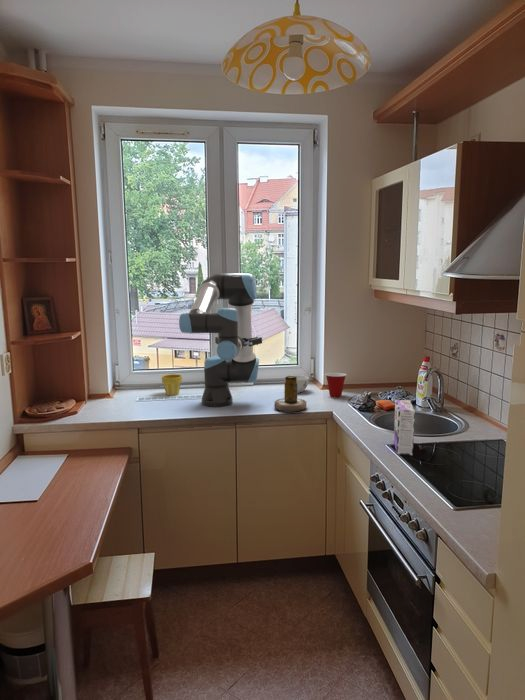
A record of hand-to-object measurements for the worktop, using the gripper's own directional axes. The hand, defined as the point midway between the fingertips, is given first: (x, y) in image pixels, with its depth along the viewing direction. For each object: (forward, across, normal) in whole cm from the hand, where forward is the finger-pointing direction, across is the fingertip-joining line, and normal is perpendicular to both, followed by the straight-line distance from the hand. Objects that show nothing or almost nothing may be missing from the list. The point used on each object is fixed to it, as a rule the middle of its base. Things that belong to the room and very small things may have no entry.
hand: (241, 337), depth 218 cm
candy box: (-37, +65, -35) cm, 83 cm away
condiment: (+10, +22, -32) cm, 40 cm away
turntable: (+10, +21, -35) cm, 42 cm away
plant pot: (+32, -43, -35) cm, 64 cm away
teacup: (+43, +22, -35) cm, 60 cm away
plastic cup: (+34, +43, -35) cm, 65 cm away
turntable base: (+10, +21, -35) cm, 42 cm away
